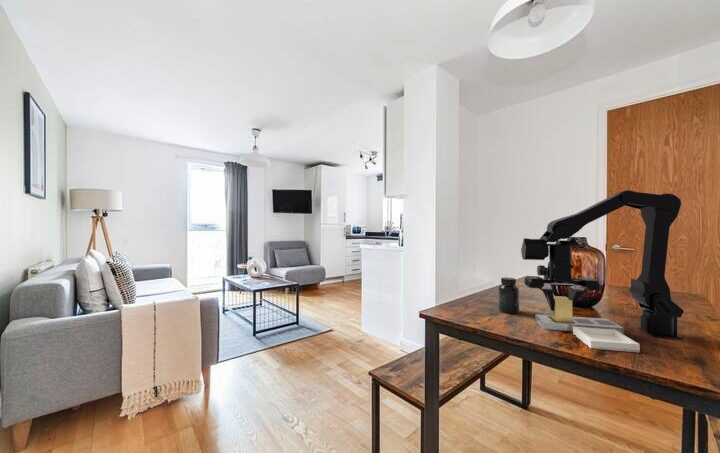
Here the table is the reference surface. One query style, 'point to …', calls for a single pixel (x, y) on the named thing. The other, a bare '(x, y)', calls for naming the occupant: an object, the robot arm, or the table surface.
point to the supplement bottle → (508, 296)
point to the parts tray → (606, 339)
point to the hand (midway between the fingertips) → (560, 310)
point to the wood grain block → (562, 310)
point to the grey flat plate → (577, 323)
